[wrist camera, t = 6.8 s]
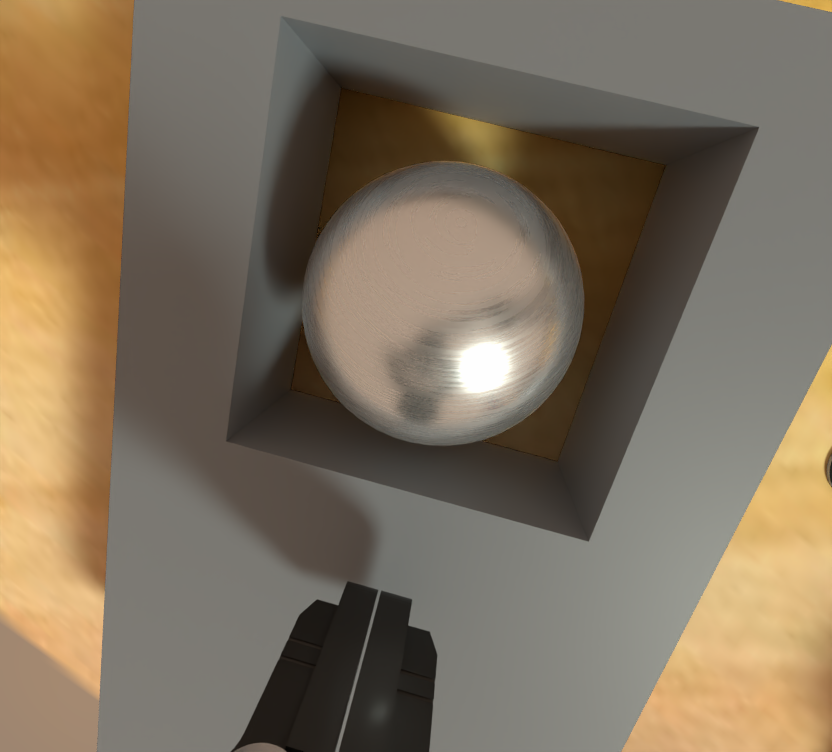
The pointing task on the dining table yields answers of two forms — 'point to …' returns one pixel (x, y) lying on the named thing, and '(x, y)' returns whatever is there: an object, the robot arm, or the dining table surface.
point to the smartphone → (829, 470)
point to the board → (467, 463)
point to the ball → (443, 303)
